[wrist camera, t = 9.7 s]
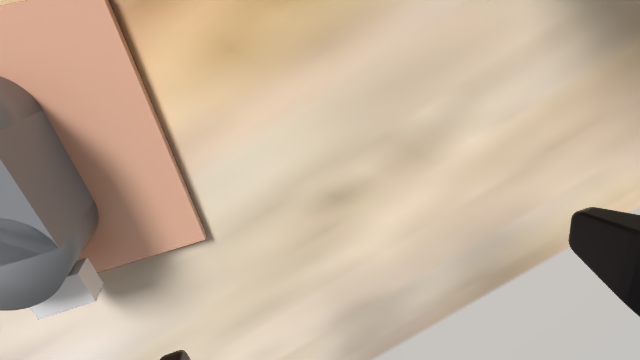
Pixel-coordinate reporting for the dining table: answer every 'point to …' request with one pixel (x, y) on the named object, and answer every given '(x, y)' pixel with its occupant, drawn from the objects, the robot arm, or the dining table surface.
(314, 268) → the dining table surface
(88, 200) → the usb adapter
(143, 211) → the plate
